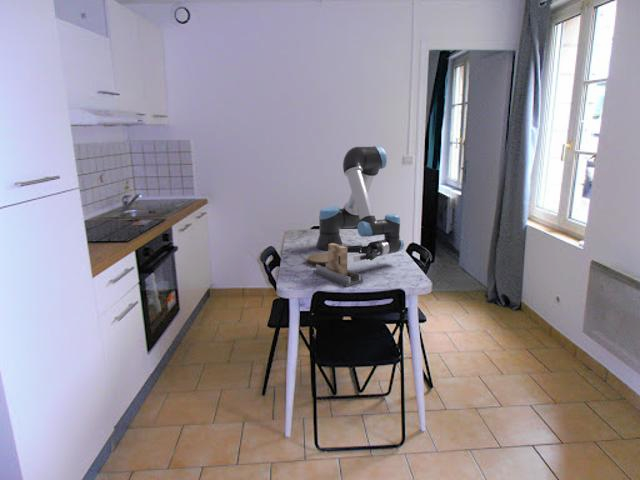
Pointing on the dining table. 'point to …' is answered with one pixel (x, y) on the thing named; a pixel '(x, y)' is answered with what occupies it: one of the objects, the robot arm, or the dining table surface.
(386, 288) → the dining table surface
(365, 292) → the dining table surface
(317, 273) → the track
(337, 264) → the door
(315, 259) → the wood log slice
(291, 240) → the dining table surface
